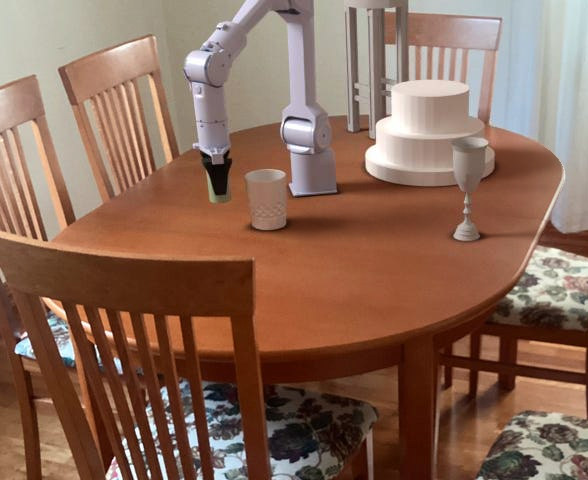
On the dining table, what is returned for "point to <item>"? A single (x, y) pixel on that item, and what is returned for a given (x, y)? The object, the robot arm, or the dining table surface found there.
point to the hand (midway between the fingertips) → (219, 190)
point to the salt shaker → (218, 198)
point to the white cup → (267, 198)
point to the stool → (373, 58)
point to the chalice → (468, 178)
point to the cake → (424, 134)
